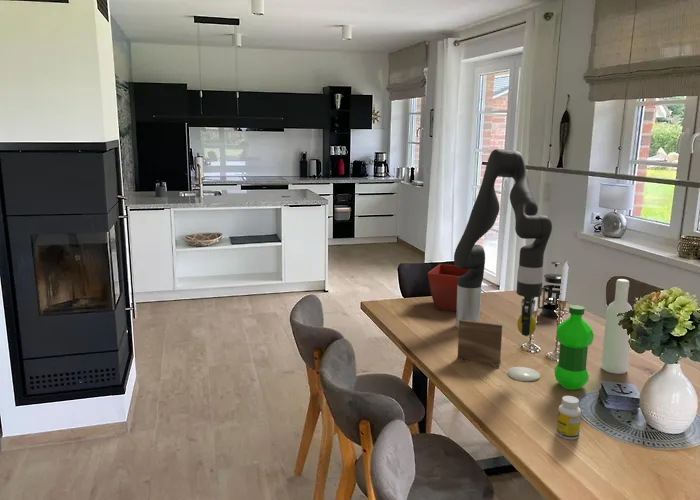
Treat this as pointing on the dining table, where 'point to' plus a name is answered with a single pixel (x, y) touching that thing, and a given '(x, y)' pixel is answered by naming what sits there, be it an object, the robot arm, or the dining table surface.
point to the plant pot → (445, 285)
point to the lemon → (532, 324)
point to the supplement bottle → (569, 418)
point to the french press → (550, 294)
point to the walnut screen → (479, 342)
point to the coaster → (523, 374)
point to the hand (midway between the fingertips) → (526, 331)
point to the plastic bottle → (573, 349)
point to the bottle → (616, 333)
